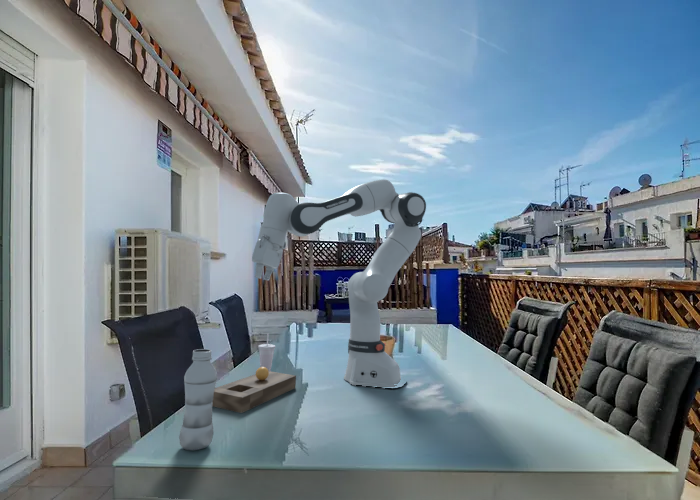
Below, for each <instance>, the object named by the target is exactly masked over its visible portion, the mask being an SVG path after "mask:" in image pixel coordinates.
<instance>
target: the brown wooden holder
mask: <svg viewBox="0 0 700 500" xmlns="http://www.w3.org/2000/svg"><path fill="white" fill-rule="evenodd" d="M296 381H297V375H293V374H288V373H283V372H276V371H272V370H271V371H269V375H268V377H267V378H266V379H265V380H259V379H257V377H256V373H255V374H252V375H250V376H246V377H244V378H241V379H238V380H235V381H231V382H229V383H225V384H222V385H220V386H216V387H215V390H214V396H213V401H212V402H213V404H212V408H213V407H214V408H218V409H223V410H226V411H231V412H235V413H239V414H242V413H245V412H247V411H249V410H251V409H254V408H255V407H258V406H260V405H262V404H264V403H267V402H269V401H272V400H273V399H275V398H277V397H279V396H282V395H284V394H286V393H288V392H290V391H292V390H295V389H296V387H297V386H296Z"/></svg>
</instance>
